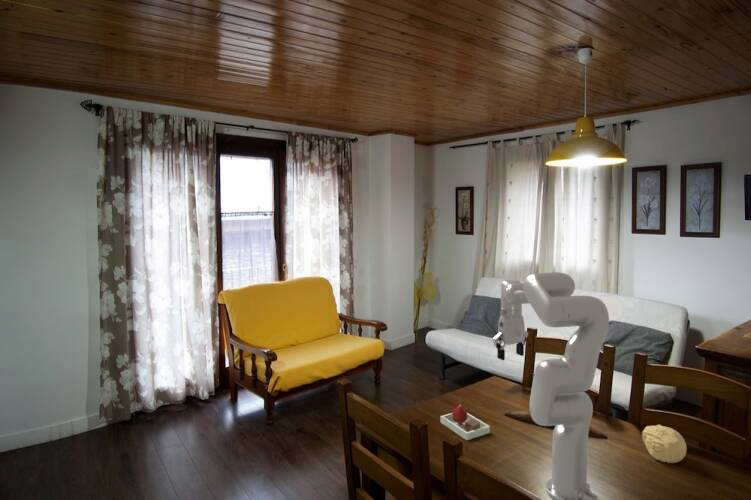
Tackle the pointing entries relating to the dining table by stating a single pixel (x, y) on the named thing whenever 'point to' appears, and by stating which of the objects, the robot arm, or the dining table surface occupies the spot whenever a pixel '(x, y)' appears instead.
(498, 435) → the dining table surface
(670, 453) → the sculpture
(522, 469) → the dining table surface
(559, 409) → the robot arm
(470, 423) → the walnut block
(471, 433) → the tray
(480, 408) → the dining table surface
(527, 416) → the bread
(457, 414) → the onion
